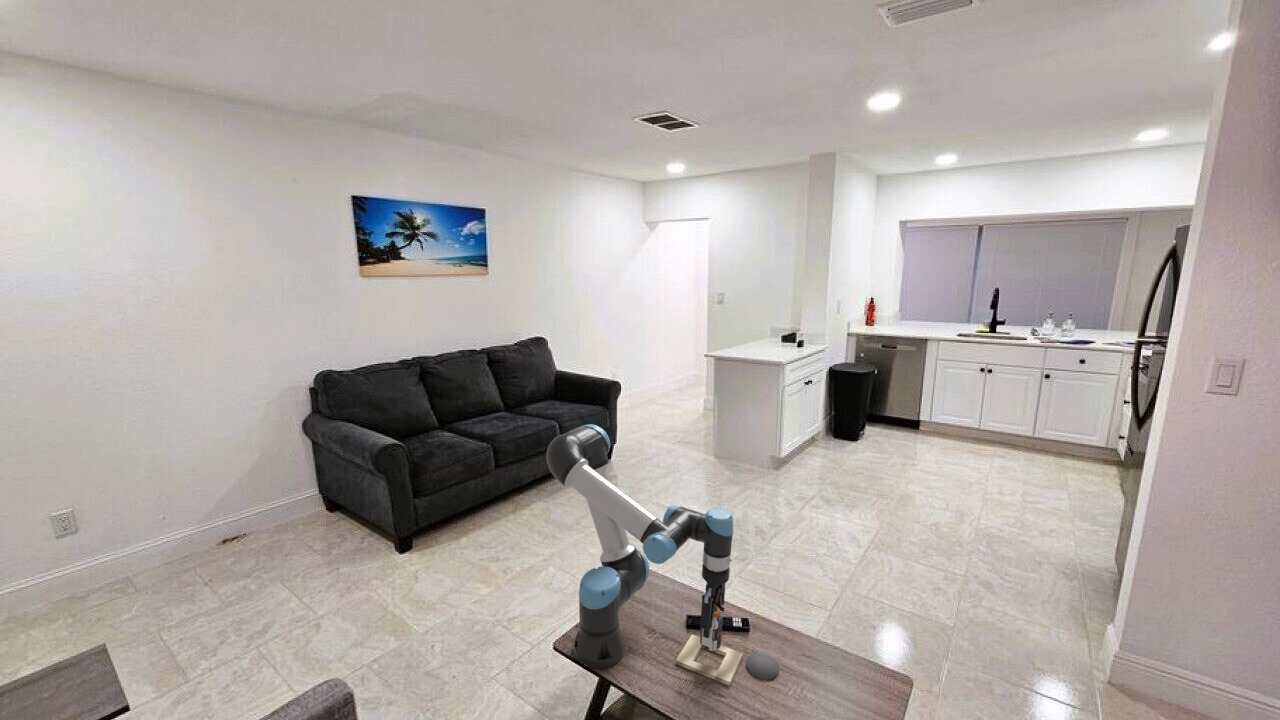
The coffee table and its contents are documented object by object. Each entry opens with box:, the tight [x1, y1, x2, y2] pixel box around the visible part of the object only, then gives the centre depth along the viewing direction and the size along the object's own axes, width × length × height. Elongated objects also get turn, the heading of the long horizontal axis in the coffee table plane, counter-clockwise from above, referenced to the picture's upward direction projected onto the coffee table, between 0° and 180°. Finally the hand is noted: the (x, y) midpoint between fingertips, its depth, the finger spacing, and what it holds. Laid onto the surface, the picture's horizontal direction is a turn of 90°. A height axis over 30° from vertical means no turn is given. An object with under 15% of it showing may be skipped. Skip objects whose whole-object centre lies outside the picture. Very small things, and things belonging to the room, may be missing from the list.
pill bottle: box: [699, 605, 724, 652], centre depth 147 cm, size 6×6×11 cm
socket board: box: [675, 634, 744, 687], centre depth 149 cm, size 16×12×1 cm
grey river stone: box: [745, 652, 780, 681], centre depth 147 cm, size 9×9×1 cm
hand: (710, 637), depth 148 cm, fingers closed on pill bottle, 6 cm apart
